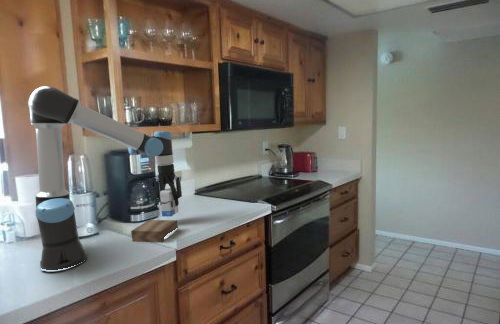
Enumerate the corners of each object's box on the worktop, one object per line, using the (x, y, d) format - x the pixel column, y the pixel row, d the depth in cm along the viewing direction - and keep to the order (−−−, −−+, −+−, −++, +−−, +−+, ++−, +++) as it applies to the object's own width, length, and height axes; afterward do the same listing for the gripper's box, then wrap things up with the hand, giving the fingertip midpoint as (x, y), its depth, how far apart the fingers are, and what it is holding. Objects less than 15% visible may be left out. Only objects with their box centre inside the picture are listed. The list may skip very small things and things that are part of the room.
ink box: (171, 216, 156) (169, 191, 155) (161, 216, 157) (159, 192, 156) (179, 211, 164) (176, 187, 163) (169, 211, 166) (167, 187, 164)
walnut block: (132, 242, 142) (131, 230, 141) (150, 230, 155) (149, 219, 154) (162, 243, 138) (160, 231, 137) (178, 231, 151) (177, 220, 151)
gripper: (186, 162, 159) (191, 210, 162) (152, 163, 163) (157, 210, 167) (179, 164, 152) (184, 214, 155) (143, 166, 156) (149, 214, 159)
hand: (170, 212), depth 161 cm, fingers closed on ink box, 5 cm apart
